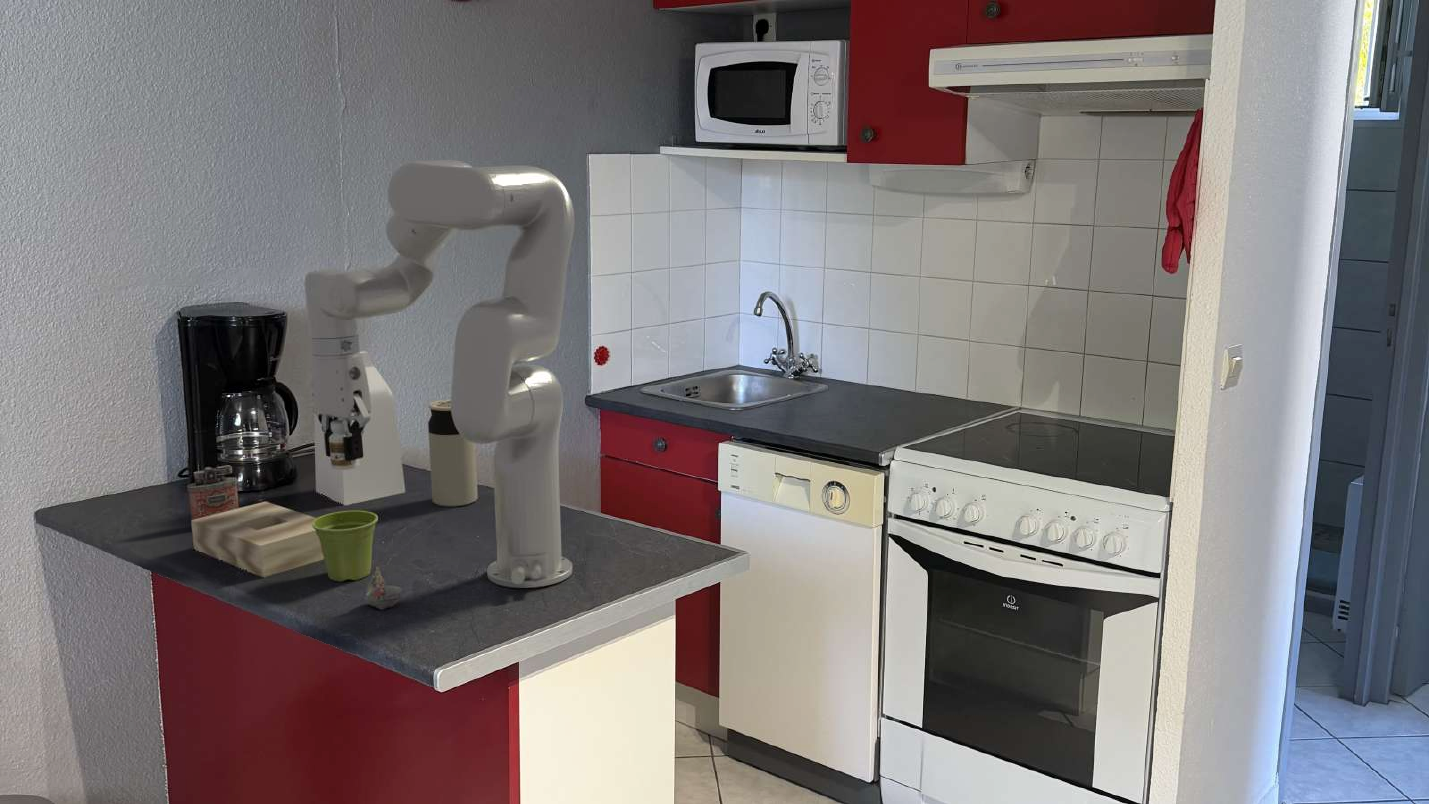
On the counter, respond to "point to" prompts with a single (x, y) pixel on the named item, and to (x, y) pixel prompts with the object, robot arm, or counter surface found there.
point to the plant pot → (346, 543)
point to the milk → (365, 451)
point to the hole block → (259, 538)
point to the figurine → (382, 593)
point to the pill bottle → (339, 448)
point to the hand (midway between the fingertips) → (344, 456)
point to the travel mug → (450, 459)
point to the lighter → (213, 492)
